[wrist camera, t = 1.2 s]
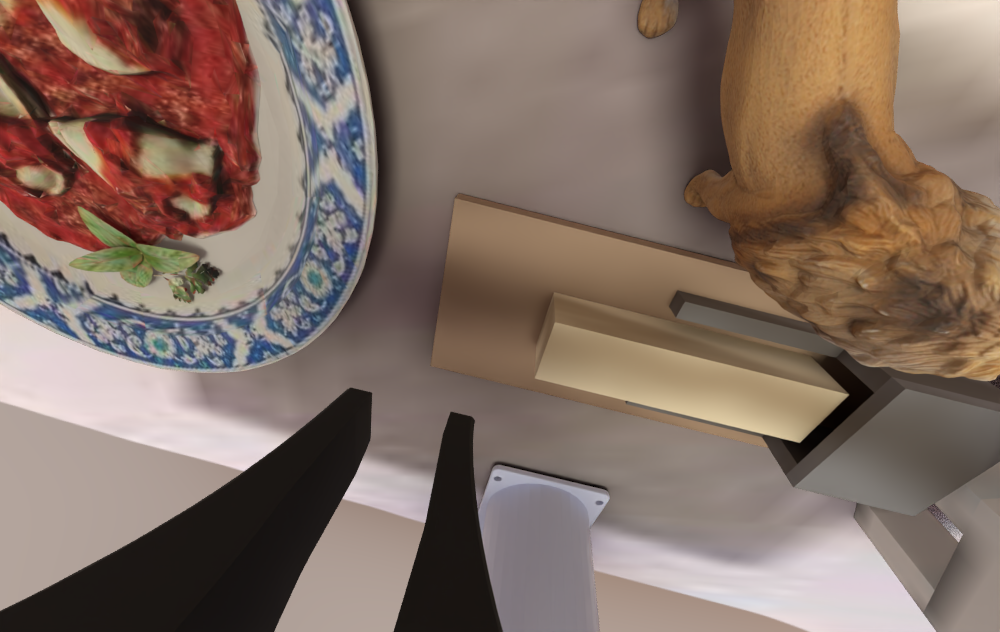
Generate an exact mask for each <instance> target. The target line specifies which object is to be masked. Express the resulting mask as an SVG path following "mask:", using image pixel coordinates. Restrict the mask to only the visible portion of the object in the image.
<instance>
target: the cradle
mask: <svg viewBox="0 0 1000 632" xmlns="http://www.w3.org/2000/svg"><path fill="white" fill-rule="evenodd" d="M554 292H555V293H559V294H563V295H567V296H571V297H575V298H579V299H583V300H587V301H591V302H595V303H599V304H603V305H608V306H612V307H616V308H620V309H624V310H628V311H632V312H636V313H640V314H644V315H648V316H652V317H656V318H660V319H664V320H668V321H672V322H676V323H680V324H684V325H688V326H692V327H696V328H700V329H704V330H708V331H712V332H716V333H720V334H724V335H728V336H732V337H736V338H740V339H745V340H749V341H753V342H757V343H761V344H765V345H769V346H773V347H777V348H781V349H785V350H789V351H793V352H797V353H801V354H805V355H809V356H811V357H812V358H813V359H814V360H815V361H816V362H817V363H818V364H819V365H820V366H821V367H822V368H823V369H824V370H825V371H826V372H827V373H828V374H829V375H830V376H831V377H832V378H833V379H834V380H835V381H836V382H837V383H838V384H839V385H840V386H841V387H842V388H843V389H844V390H845V391H846V392H847V393H848V394H849V396H848V397H847V398H846V399H845V400H843V401H842V402H841V403H840V404H839V405H838V406H837V407H836V408H835V409H834V410H833V411H832V412H831V413H830V414H829V415H828V416H827V417H826V418H825V419H824V420H823V421H822V422H821V423H820V424H819V425H818V426H817V427H816V428H815V429H814V430H812V431H811V432H810V433H809V434H808V435H807V436H806V437H805V438H804V439H803V440H802V441H801V442H800V443H798V442H794V441H790V440H786V439H782V438H778V437H774V436H769V435H765V434H761V433H757V432H753V431H749V430H745V429H741V428H737V427H732V426H728V425H724V424H720V423H716V422H712V421H708V420H704V419H700V418H695V417H691V416H687V415H683V414H679V413H675V412H671V411H667V410H663V409H658V408H654V407H650V406H646V405H642V404H638V403H634V402H630V401H626V400H621V399H617V398H613V397H609V396H605V395H601V394H597V393H593V392H589V391H584V390H580V389H576V388H572V387H568V386H564V385H560V384H556V383H552V382H547V381H543V380H539V379H535V360H536V344H537V341H538V338H539V335H540V332H541V329H542V326H543V323H544V320H545V317H546V314H547V311H548V308H549V306H550V303H551V300H552V297H553V294H554ZM430 366H433V367H437V368H441V369H445V370H449V371H453V372H457V373H461V374H466V375H470V376H474V377H478V378H482V379H486V380H490V381H494V382H499V383H503V384H507V385H511V386H515V387H519V388H523V389H527V390H531V391H536V392H540V393H544V394H548V395H552V396H556V397H560V398H564V399H569V400H573V401H577V402H581V403H585V404H589V405H593V406H597V407H602V408H606V409H610V410H614V411H618V412H622V413H626V414H630V415H635V416H639V417H643V418H647V419H651V420H655V421H659V422H663V423H668V424H672V425H676V426H680V427H684V428H688V429H692V430H696V431H701V432H705V433H709V434H713V435H717V436H721V437H725V438H729V439H734V440H738V441H742V442H746V443H750V444H754V445H758V446H762V447H766V448H769V449H770V451H771V452H772V454H773V456H774V457H775V459H776V460H777V462H778V464H779V465H780V467H781V468H782V470H783V472H784V473H785V475H786V476H787V478H788V480H789V481H790V483H791V484H792V486H793V488H798V489H802V490H806V491H810V492H814V493H818V494H823V495H827V496H831V497H835V498H839V499H843V500H848V501H852V502H856V503H860V504H864V505H868V506H872V507H877V508H881V509H885V510H889V511H893V512H897V513H902V514H906V515H910V516H916V515H917V514H919V513H920V512H922V511H924V510H925V509H927V508H928V507H930V506H931V505H933V504H934V503H936V502H938V501H939V500H941V499H942V498H944V497H945V496H947V495H949V494H950V493H952V492H953V491H955V490H956V489H958V488H960V487H961V486H963V485H964V484H966V483H967V482H969V481H971V480H972V479H974V478H975V477H977V476H978V475H980V474H982V473H983V472H985V471H986V470H988V469H989V468H991V467H993V466H994V465H996V464H997V463H999V462H1000V389H999V388H997V387H996V386H994V385H993V384H991V383H990V382H988V381H980V380H974V379H969V378H966V377H963V376H960V377H955V378H945V377H941V376H937V375H933V374H911V373H906V372H902V371H898V370H895V369H893V368H891V367H889V366H888V367H868V366H865V365H863V364H860V363H859V362H857V361H856V360H855V359H854V358H853V357H851V356H850V354H849V353H848V352H847V351H846V350H845V349H843V348H840V347H838V346H836V345H834V344H832V343H830V342H828V341H826V340H824V339H823V338H821V337H820V336H819V335H817V333H816V332H815V330H814V329H813V327H812V326H811V325H810V323H808V322H807V321H805V320H803V319H801V318H799V317H797V316H795V315H793V314H791V313H789V312H788V311H786V310H784V309H783V308H782V307H781V306H780V305H779V304H778V302H776V301H775V300H774V299H772V298H771V297H769V296H768V295H767V294H765V292H764V291H763V290H762V289H760V288H759V287H758V286H757V285H756V284H755V283H754V282H753V281H752V280H751V277H750V274H749V272H748V271H747V270H746V269H744V268H743V267H741V266H739V265H738V264H737V263H733V262H729V261H725V260H721V259H717V258H713V257H709V256H705V255H701V254H697V253H693V252H689V251H685V250H681V249H677V248H673V247H669V246H665V245H662V244H658V243H654V242H650V241H646V240H642V239H638V238H634V237H630V236H626V235H622V234H618V233H614V232H610V231H606V230H602V229H598V228H594V227H590V226H586V225H582V224H578V223H574V222H570V221H566V220H562V219H558V218H554V217H550V216H547V215H543V214H539V213H535V212H531V211H527V210H523V209H519V208H515V207H511V206H507V205H503V204H499V203H495V202H491V201H487V200H483V199H479V198H475V197H471V196H467V195H463V194H458V195H457V196H456V197H455V201H454V208H453V215H452V222H451V228H450V235H449V242H448V249H447V256H446V262H445V269H444V276H443V283H442V290H441V297H440V303H439V310H438V317H437V324H436V331H435V337H434V344H433V351H432V358H431V365H430Z"/></svg>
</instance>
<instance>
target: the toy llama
mask: <svg viewBox="0 0 1000 632" xmlns="http://www.w3.org/2000/svg"><path fill="white" fill-rule="evenodd" d="M934 504H935V505H936V506H937V507H938V508H939V509H940V510H941V511H942V512H943V513H944V515H945V516H946V517H947V518H948V519H949V520H950V521H951V522H952V523H953V524H954V525H955V526H956V527H957V528H958V529H959V530H960V531H961V533H962V534H963V536H962V538H961V540H960V542H959V543H958V541H957V540H956V539H955V538H954V537H953V536H952V535H951V534H950V533H949V532H948V531H947V529H946V528H945V527H944V526H943V525H942V524H941V523H940V522H939V521H938V520H937V519H936V518H935V516H934V515H933V514H932V513H931V512H930V511H929V510H928V509H925V510H924V511H922V512H920V513H919V514H917V515H916V516H910V515H906V514H902V513H897V512H893V511H889V510H885V509H881V508H877V507H872V506H868V505H864V504H860V503H857V507H856V511H855V515H854V518H855V520H856V521H857V523H858V524H859V525H860V527H861V528H862V530H863V531H864V532H865V534H866V535H867V536H868V538H869V539H870V541H871V542H872V543H873V545H874V546H875V547H876V549H877V550H878V552H879V553H880V554H881V556H882V557H883V558H884V560H885V561H886V563H887V564H888V565H889V567H890V568H891V569H892V571H893V572H894V574H895V575H896V576H897V578H898V579H899V581H900V582H901V583H902V585H903V586H904V587H905V589H906V590H907V592H908V593H909V594H910V596H911V597H912V598H913V600H914V601H915V603H916V604H917V605H918V607H919V608H920V609H921V611H922V612H923V614H924V615H925V616H926V618H927V619H928V621H929V622H930V623H931V625H932V626H933V627H934V629H935V630H936V632H1000V462H999V463H997V464H996V465H994V466H993V467H991V468H989V469H988V470H986V471H985V472H983V473H982V474H980V475H978V476H977V477H975V478H974V479H972V480H971V481H969V482H967V483H966V484H964V485H963V486H961V487H960V488H958V489H956V490H955V491H953V492H952V493H950V494H949V495H947V496H945V497H944V498H942V499H941V500H939V501H938V502H936V503H934Z"/></svg>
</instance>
